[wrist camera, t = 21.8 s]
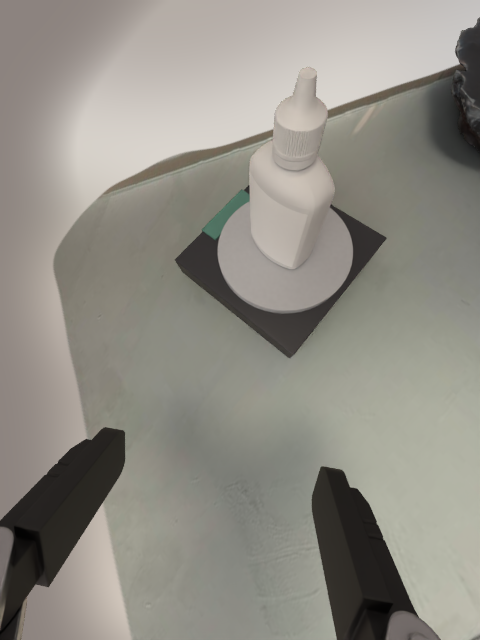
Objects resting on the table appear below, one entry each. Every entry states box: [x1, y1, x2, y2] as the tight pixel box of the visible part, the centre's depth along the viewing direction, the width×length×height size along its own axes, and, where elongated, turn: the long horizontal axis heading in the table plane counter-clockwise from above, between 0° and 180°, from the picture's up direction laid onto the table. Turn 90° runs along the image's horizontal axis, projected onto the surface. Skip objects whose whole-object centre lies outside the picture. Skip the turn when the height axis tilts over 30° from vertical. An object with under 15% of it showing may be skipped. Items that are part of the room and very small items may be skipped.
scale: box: [175, 186, 386, 358], centre depth 22 cm, size 14×14×3 cm
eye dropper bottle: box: [249, 67, 335, 269], centre depth 15 cm, size 4×6×12 cm
